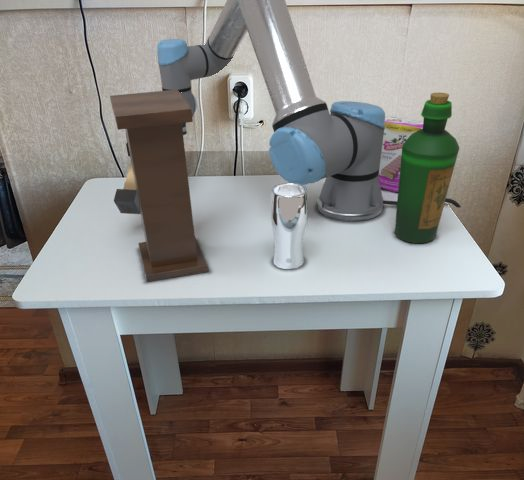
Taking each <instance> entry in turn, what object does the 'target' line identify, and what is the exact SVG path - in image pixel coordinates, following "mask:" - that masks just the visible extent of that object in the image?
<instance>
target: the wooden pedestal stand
mask: <svg viewBox="0 0 524 480" xmlns="http://www.w3.org/2000/svg"><path fill="white" fill-rule="evenodd" d="M109 98H110V104H111V108H112V113H113V116H114V120H115V123H116V128H117V130H118V131H119V130H125V137H126V136H127V138H126V143H127V142H128V147H129V153H130V161H131V164H132V169H133V174H134V180H135V185H136V191H137V196H138V202H139V207H140V218H141V223H142V229H143V235H144V240H145V241H141V242H138V243H137V244H138V249H139V254H140V257H141V262H142V266H143V267H142V268H143V271H144V275H145V280H146V283H150V282H154V281H161V280H168V279H173V278H179V277H187V276H191V275H197V274H203V273H208V272H209V265H208V263H207V261H206V259H205V256H204V254H203V251H202V249H201V247H200V245H199V242H198V239H197V237H196V236H195V227H194V218H193V210H192V201H191V192H190V185H189V175H188V167H187V159H186V158H187V156H186V149H185V138H184V135H183V130H182V123H186V124H187V123H193V122H194V120H193V117H192V109H191V108H190V106H189V105H188V104H187V102H186V101H185V99H184V98H183V97H182V95H181V94H180V92H179V91H178V90H167V91H162V90H157V91H146V92H136V93H126V94H125V93H123V94H115V95H113V94H112V95H109Z"/></svg>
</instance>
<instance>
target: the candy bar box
mask: <svg viewBox="0 0 524 480" xmlns="http://www.w3.org/2000/svg"><path fill="white" fill-rule="evenodd" d="M420 129H423V121H422V120H415V119H407V118H401V117H395V116H389V115H385V129H384V136H383V144H382V152H381V160H380V168H379V176H378V177H379V183H380V188H381V190H383V191H388V192H392V193H397V194H398V189H399V178H400V167H401V155H402V145H403V144H404V143H405V141H406V140H407V139H408V138H409V137H410V135H411V134H413V133H414V132H416V131H418V130H420Z"/></svg>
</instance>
